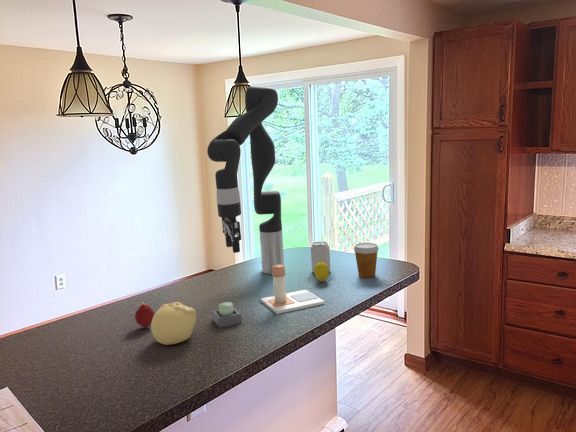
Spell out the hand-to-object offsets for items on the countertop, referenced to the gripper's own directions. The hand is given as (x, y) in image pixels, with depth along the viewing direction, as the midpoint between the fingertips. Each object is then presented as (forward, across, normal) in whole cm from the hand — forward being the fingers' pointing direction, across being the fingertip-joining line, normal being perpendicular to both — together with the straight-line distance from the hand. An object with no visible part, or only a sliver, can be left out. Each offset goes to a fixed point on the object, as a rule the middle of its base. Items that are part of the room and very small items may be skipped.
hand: (233, 249), depth 162 cm
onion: (+18, -6, +31) cm, 37 cm away
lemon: (+20, +6, -35) cm, 41 cm away
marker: (+18, -9, -12) cm, 23 cm away
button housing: (+18, -14, +8) cm, 25 cm away
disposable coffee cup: (+20, +4, -53) cm, 57 cm away
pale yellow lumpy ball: (+18, -20, +24) cm, 36 cm away
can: (+20, +19, -40) cm, 49 cm away
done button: (+17, -14, +8) cm, 23 cm away
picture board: (+19, -9, -16) cm, 27 cm away
